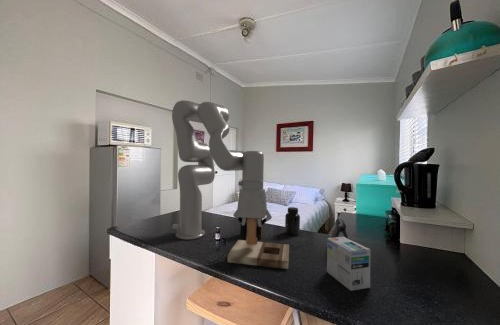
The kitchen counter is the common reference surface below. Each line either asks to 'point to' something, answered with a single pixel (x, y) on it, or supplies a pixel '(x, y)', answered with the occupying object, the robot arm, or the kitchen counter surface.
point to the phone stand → (339, 229)
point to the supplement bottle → (292, 222)
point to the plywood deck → (260, 254)
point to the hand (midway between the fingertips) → (251, 235)
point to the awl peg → (251, 231)
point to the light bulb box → (349, 263)
